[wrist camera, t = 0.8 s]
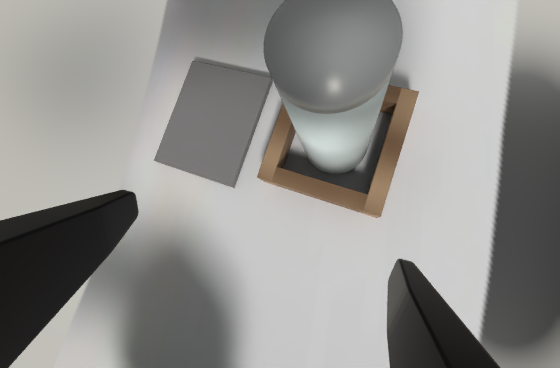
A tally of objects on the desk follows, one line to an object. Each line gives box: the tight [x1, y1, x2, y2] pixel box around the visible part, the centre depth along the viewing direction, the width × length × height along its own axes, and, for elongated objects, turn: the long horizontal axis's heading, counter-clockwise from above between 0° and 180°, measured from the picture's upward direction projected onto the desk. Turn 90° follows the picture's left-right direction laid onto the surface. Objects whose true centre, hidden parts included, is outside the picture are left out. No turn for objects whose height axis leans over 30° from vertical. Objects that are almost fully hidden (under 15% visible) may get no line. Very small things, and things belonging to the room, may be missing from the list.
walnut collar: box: [257, 85, 419, 218], centre depth 22 cm, size 9×9×2 cm
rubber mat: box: [154, 61, 273, 188], centre depth 25 cm, size 10×8×1 cm
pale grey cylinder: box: [264, 0, 403, 174], centre depth 17 cm, size 5×5×13 cm
